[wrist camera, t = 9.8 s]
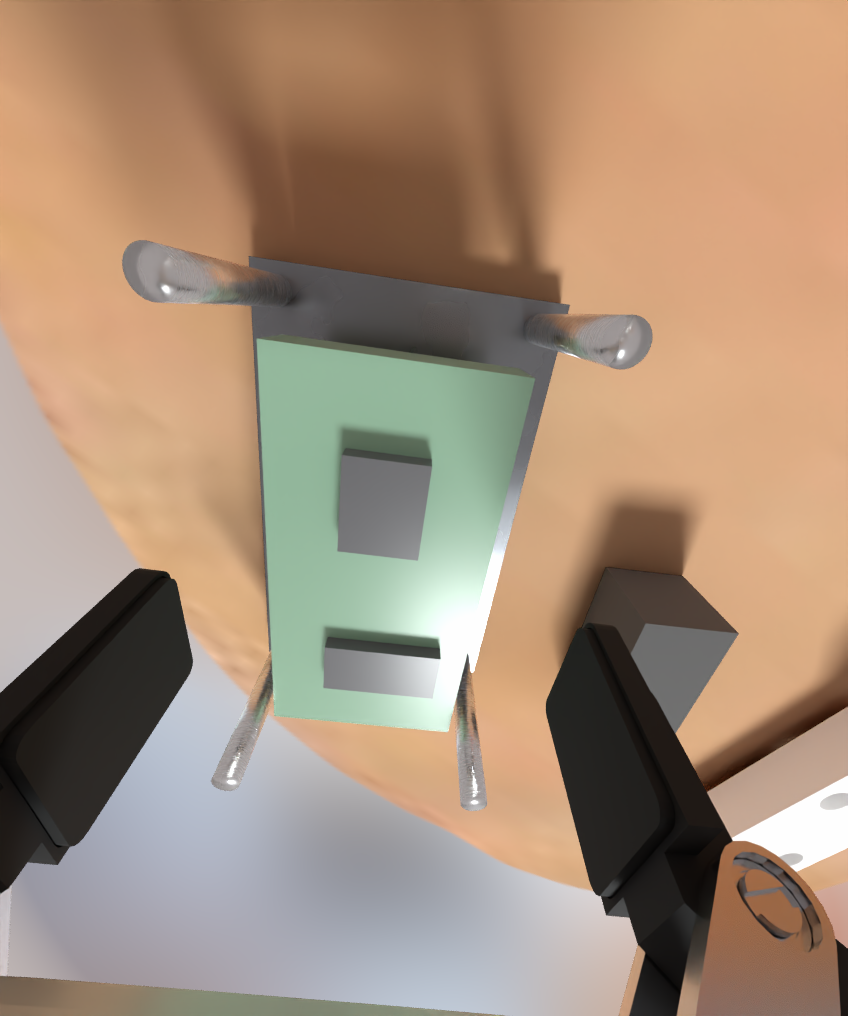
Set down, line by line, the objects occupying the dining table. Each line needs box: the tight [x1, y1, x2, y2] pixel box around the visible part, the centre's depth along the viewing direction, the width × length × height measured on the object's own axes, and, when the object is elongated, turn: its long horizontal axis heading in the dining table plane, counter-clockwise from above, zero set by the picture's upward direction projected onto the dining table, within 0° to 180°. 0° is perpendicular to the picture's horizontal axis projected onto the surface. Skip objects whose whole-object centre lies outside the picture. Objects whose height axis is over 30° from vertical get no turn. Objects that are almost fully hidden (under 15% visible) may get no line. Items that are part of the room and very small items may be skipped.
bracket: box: [707, 707, 848, 872], centre depth 24 cm, size 13×7×8 cm, turn 147°
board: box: [257, 334, 535, 732], centre depth 14 cm, size 14×7×3 cm, turn 172°
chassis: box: [122, 240, 652, 811], centre depth 15 cm, size 18×11×8 cm, turn 172°
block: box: [582, 567, 739, 733], centre depth 20 cm, size 8×4×4 cm, turn 172°
